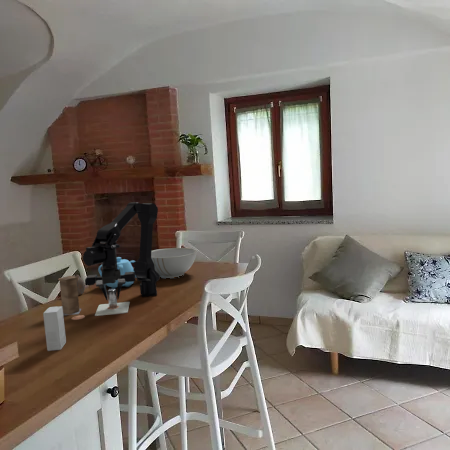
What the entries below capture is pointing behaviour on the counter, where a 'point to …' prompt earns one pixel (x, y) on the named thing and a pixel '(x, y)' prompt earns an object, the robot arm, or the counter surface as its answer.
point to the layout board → (105, 310)
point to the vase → (80, 285)
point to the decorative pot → (121, 271)
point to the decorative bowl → (173, 261)
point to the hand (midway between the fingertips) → (112, 299)
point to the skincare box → (54, 328)
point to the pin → (112, 298)
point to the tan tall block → (69, 294)
